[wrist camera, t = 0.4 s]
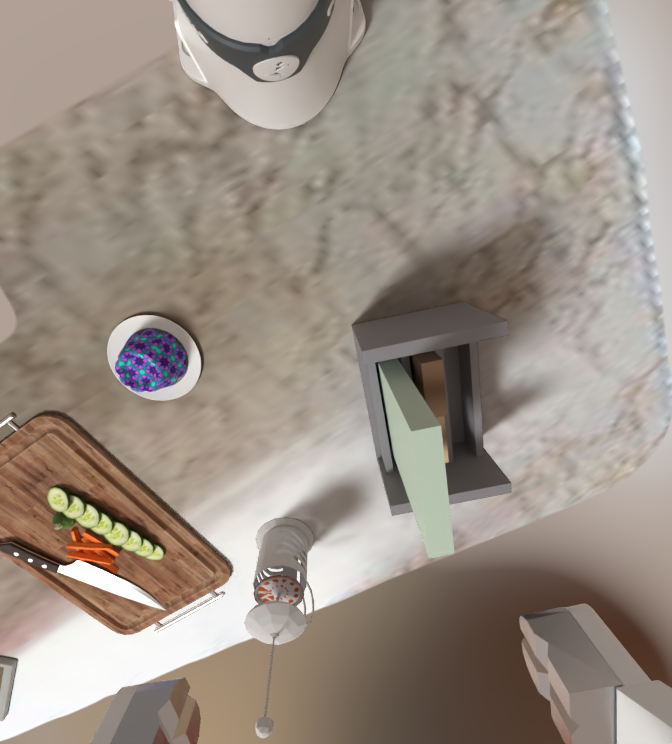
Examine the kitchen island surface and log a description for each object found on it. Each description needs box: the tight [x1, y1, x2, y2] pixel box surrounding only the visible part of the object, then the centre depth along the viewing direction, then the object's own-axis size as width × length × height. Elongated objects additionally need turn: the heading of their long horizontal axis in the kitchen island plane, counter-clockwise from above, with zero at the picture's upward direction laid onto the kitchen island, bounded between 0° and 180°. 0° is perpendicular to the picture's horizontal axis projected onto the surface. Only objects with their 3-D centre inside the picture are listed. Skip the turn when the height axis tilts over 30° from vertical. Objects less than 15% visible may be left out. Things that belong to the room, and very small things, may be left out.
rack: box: [352, 301, 511, 516], centre depth 45 cm, size 22×15×12 cm
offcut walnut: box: [409, 351, 448, 417], centre depth 43 cm, size 7×2×8 cm, turn 11°
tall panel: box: [375, 358, 454, 558], centre depth 39 cm, size 14×2×20 cm, turn 11°
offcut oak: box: [436, 415, 449, 463], centre depth 47 cm, size 7×2×6 cm, turn 11°
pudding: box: [107, 315, 201, 401], centre depth 45 cm, size 12×12×5 cm
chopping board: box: [0, 413, 231, 635], centre depth 56 cm, size 45×27×3 cm, turn 34°
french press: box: [244, 518, 314, 738], centre depth 48 cm, size 10×12×25 cm
